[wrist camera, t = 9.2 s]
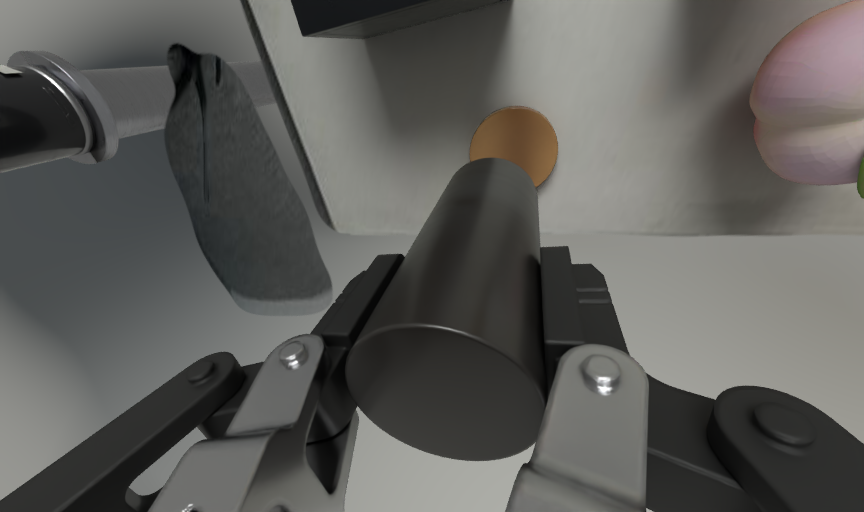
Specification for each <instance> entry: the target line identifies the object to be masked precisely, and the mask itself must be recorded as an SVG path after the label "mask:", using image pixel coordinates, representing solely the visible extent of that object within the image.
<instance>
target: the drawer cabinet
mask: <svg viewBox="0 0 864 512" xmlns="http://www.w3.org/2000/svg"><path fill="white" fill-rule="evenodd" d="M505 1H508V0H291V3H292V6H293V9H294V12H295V15H296V18H297V21H298V24H299V27H300V30H301V34H302V36H304V37H325V38H350V39H365V38H369V37H373V36H377V35H381V34H384V33H388V32H392V31H396V30H399V29H403V28H407V27H411V26H414V25H418V24H422V23H426V22H429V21H433V20H437V19H441V18H444V17H448V16H452V15H456V14H459V13H463V12H467V11H471V10H475V9H478V8H482V7H486V6H490V5H493V4H497V3H501V2H505Z"/></svg>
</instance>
